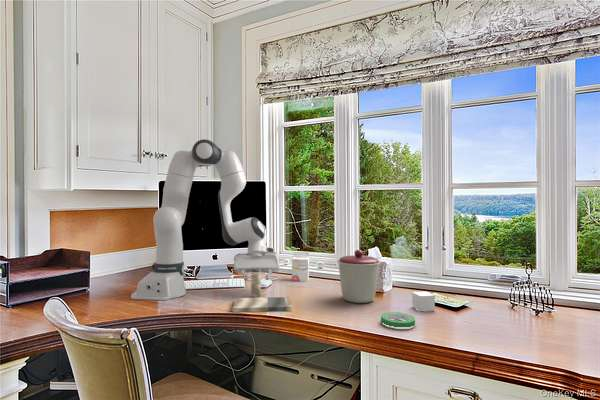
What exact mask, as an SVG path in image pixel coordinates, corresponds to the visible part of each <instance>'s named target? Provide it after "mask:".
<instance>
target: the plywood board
mask: <svg viewBox="0 0 600 400" xmlns="http://www.w3.org/2000/svg"><path fill="white" fill-rule="evenodd" d="M291 302H292V301H291V299H290V297H289V296H283V297H282V296H277V297H275V296H274V297H273V296H272V297H269V296H268V297H260V298H252V297H235V299H234V303H233V306H232V313H247V312H248V313H249V312H251V313H253V312H292V308H293V307H292V304H291Z"/></svg>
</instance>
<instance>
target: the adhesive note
mask: <svg viewBox="0 0 600 400" xmlns="http://www.w3.org/2000/svg"><path fill="white" fill-rule="evenodd" d="M411 293H412V296H411V298H412V299H411V300H412V302H411V305H412V306H413V307H415V308H417V309H418V310H420V311H422V310H435V311H436V307H435V305H436V304H435V302H436V298H435V297H436V295H435V294H433V293H431V292H428V291H412V292H411ZM412 306H411V307H412ZM413 307H412V308H413ZM415 308H414V309H415ZM418 310H417V311H418ZM420 311H419V312H420Z"/></svg>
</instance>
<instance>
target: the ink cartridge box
mask: <svg viewBox="0 0 600 400" xmlns="http://www.w3.org/2000/svg"><path fill="white" fill-rule="evenodd" d="M309 254H310V252H309V251H293V257H292V259H291V260H292V261H291V262H292V263H291V264H292V266H291V281H292V282H309V278H310V277H309V276H310V255H309Z"/></svg>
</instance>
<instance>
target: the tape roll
mask: <svg viewBox="0 0 600 400" xmlns="http://www.w3.org/2000/svg"><path fill="white" fill-rule="evenodd" d="M391 319H403V320H406V321H399V320H391ZM381 322H382V323H384V324H386V325H389V326H394V327H411V326H414V325H415V326H416V318H415V317H414V316H413V315H412V314H409V313H405V312H400V311H399V312H398V311H397V312H396V311H389V312H384V313H382V314H381V315H380V323H381Z"/></svg>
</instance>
